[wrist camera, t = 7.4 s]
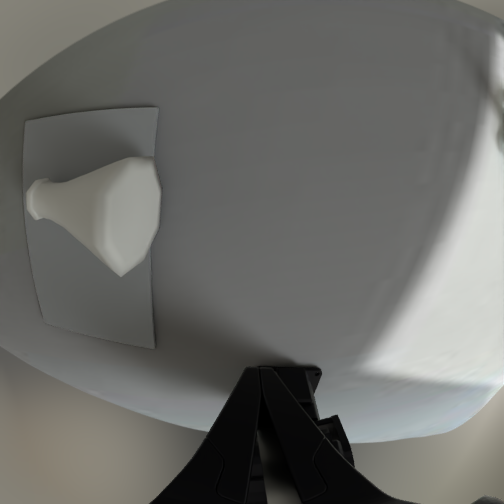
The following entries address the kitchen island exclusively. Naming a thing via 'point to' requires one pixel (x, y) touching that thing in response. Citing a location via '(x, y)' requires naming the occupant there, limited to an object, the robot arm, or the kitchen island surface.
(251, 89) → the kitchen island surface
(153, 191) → the flask
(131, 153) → the mat
